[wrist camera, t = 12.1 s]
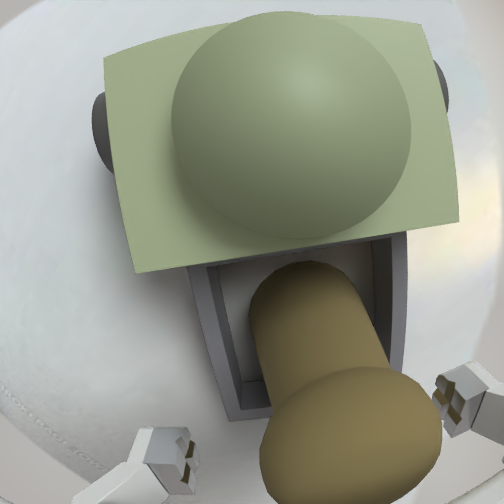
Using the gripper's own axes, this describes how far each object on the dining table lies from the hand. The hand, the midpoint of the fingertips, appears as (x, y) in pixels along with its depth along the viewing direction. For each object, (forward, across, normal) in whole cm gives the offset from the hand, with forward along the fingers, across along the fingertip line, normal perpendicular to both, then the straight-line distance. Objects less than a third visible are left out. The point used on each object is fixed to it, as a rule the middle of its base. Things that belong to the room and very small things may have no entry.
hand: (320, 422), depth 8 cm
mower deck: (+8, -1, -4) cm, 9 cm away
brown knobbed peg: (+8, -1, 0) cm, 8 cm away
